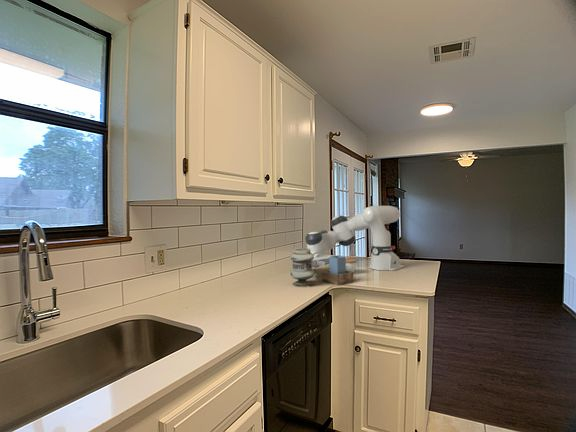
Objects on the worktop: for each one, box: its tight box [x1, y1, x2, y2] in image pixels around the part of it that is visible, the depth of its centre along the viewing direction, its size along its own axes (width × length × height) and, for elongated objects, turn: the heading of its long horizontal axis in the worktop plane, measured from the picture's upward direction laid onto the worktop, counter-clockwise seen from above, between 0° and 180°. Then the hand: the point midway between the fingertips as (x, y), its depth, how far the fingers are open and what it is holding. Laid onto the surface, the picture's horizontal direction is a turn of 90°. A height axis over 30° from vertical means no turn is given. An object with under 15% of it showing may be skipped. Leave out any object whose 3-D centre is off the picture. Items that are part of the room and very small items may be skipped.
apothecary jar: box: [289, 247, 315, 288], centre depth 166 cm, size 12×12×18 cm
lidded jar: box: [346, 256, 358, 273], centre depth 192 cm, size 11×11×9 cm
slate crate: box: [328, 255, 347, 275], centre depth 171 cm, size 6×6×12 cm
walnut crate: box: [322, 270, 354, 286], centre depth 171 cm, size 11×11×5 cm
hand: (331, 262), depth 173 cm, fingers open, 8 cm apart
